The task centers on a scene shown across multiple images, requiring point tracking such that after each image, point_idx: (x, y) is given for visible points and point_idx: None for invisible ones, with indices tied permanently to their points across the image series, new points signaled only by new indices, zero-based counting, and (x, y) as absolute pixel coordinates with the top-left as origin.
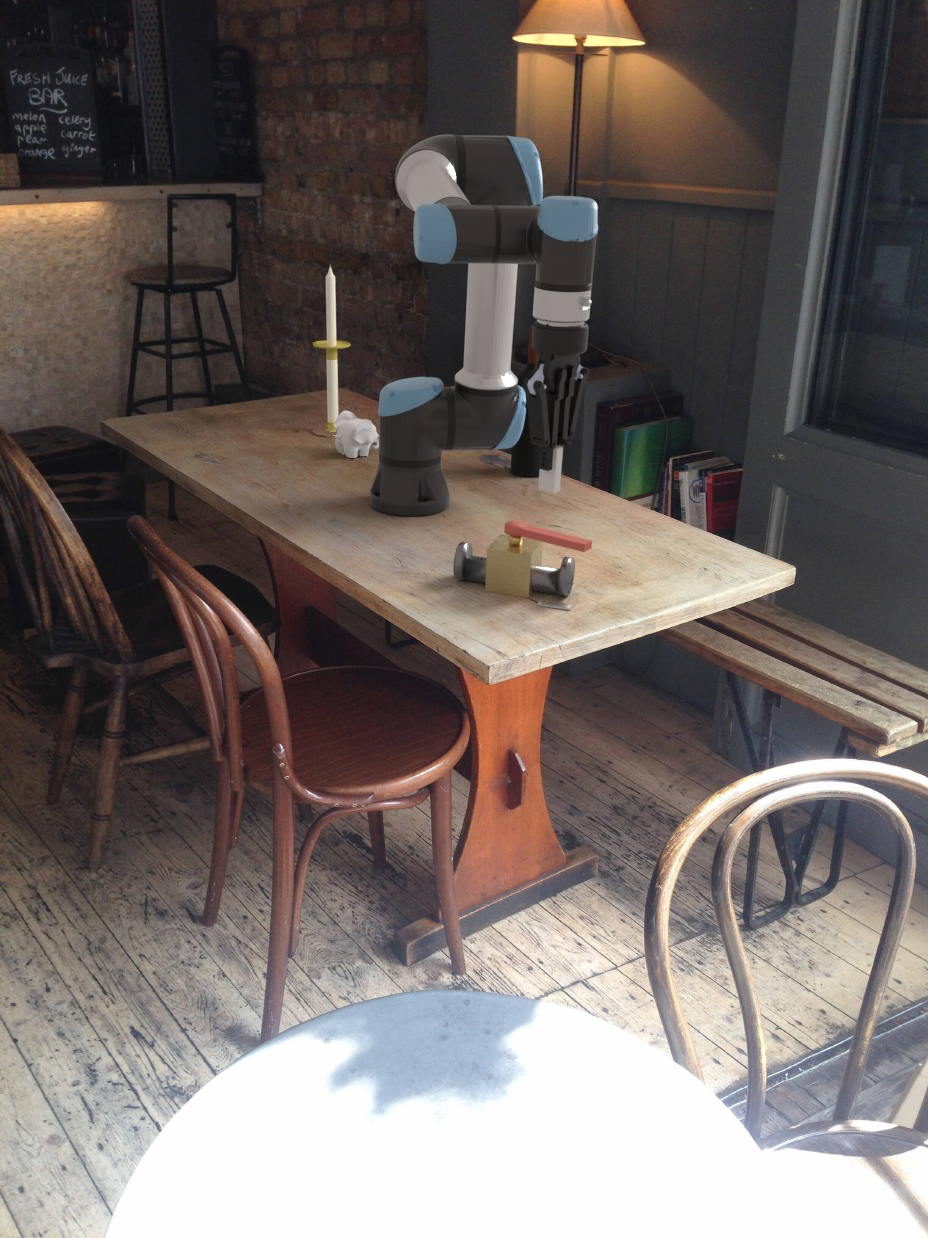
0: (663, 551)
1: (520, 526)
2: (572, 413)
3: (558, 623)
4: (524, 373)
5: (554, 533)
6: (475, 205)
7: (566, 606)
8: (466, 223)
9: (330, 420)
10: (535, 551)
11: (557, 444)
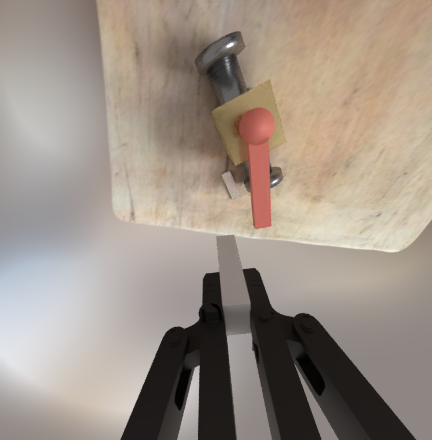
0: (409, 167)
1: (255, 137)
2: (336, 429)
3: (206, 208)
4: None
5: (263, 185)
6: None
7: (234, 195)
8: None
9: None
10: None
11: (249, 325)
